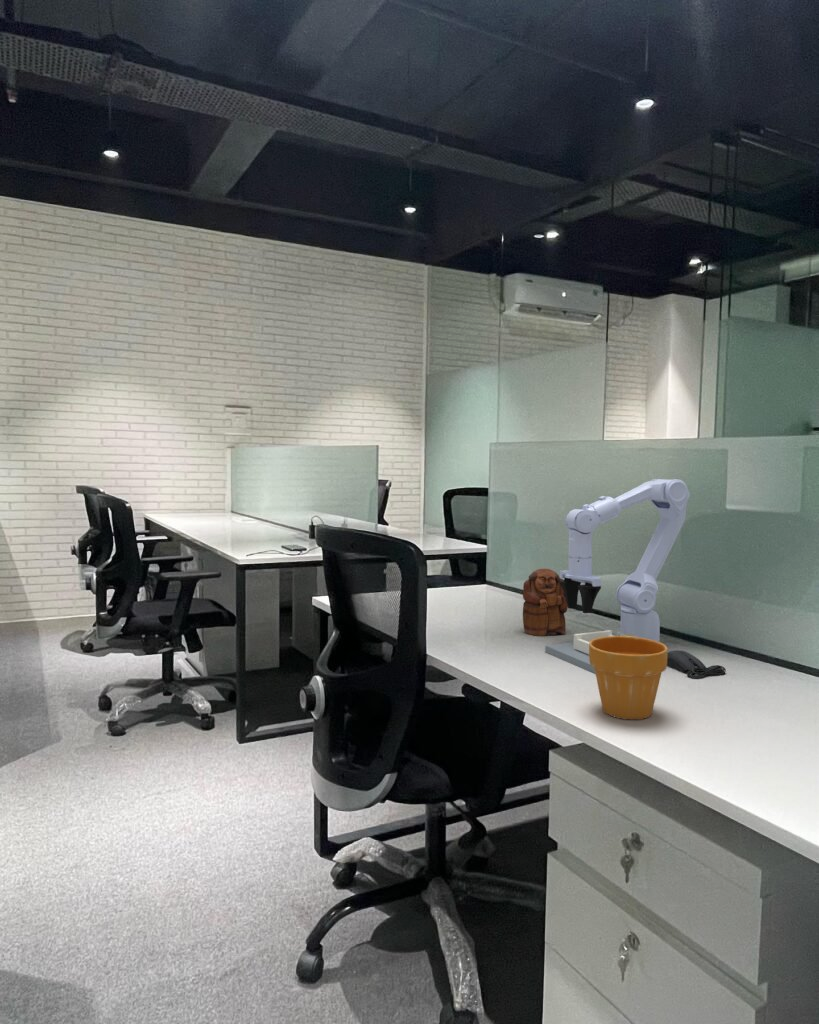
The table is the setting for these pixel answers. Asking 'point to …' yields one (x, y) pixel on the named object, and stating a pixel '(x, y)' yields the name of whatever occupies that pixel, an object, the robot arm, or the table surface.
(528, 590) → the wooden figurine
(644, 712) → the flower pot
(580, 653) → the base board
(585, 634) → the frame
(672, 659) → the computer mouse
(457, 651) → the table surface
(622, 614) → the robot arm
